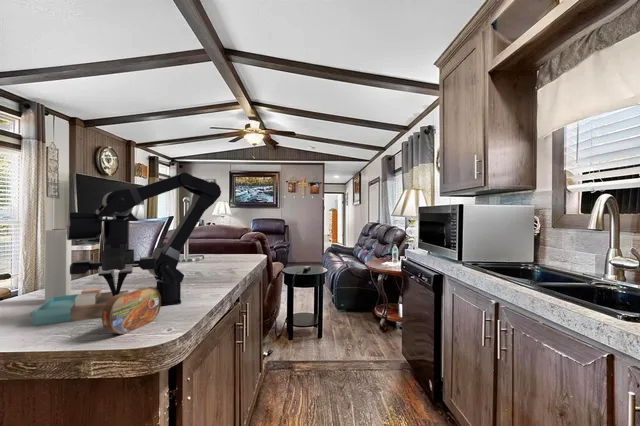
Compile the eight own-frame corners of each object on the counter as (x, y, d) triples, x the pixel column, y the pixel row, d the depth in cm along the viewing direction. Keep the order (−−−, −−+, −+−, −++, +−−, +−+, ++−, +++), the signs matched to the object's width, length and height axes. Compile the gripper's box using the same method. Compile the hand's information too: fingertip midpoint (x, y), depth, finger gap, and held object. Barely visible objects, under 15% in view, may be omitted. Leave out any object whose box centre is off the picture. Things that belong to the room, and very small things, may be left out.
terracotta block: (101, 294, 91) (101, 287, 91) (99, 297, 87) (99, 289, 87) (84, 295, 89) (84, 288, 89) (81, 299, 85) (81, 291, 85)
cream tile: (97, 300, 84) (97, 292, 84) (94, 304, 80) (94, 296, 80) (78, 302, 82) (78, 294, 82) (74, 306, 78) (75, 298, 78)
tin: (111, 340, 65) (111, 298, 65) (98, 339, 65) (98, 297, 65) (162, 317, 79) (162, 283, 80) (151, 316, 80) (151, 283, 80)
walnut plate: (128, 300, 96) (128, 290, 96) (124, 314, 81) (124, 302, 81) (83, 305, 90) (83, 294, 90) (70, 321, 76) (70, 308, 76)
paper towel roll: (49, 299, 97) (50, 228, 97) (73, 297, 99) (74, 228, 99) (39, 305, 90) (40, 229, 90) (65, 303, 92) (66, 229, 93)
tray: (83, 305, 90) (83, 293, 90) (70, 321, 76) (70, 307, 76) (51, 308, 87) (51, 296, 87) (32, 325, 73) (32, 311, 73)
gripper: (64, 241, 73) (63, 310, 72) (156, 239, 81) (156, 300, 81) (75, 238, 83) (74, 299, 82) (156, 236, 91) (155, 291, 91)
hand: (115, 297), depth 84 cm, fingers closed
